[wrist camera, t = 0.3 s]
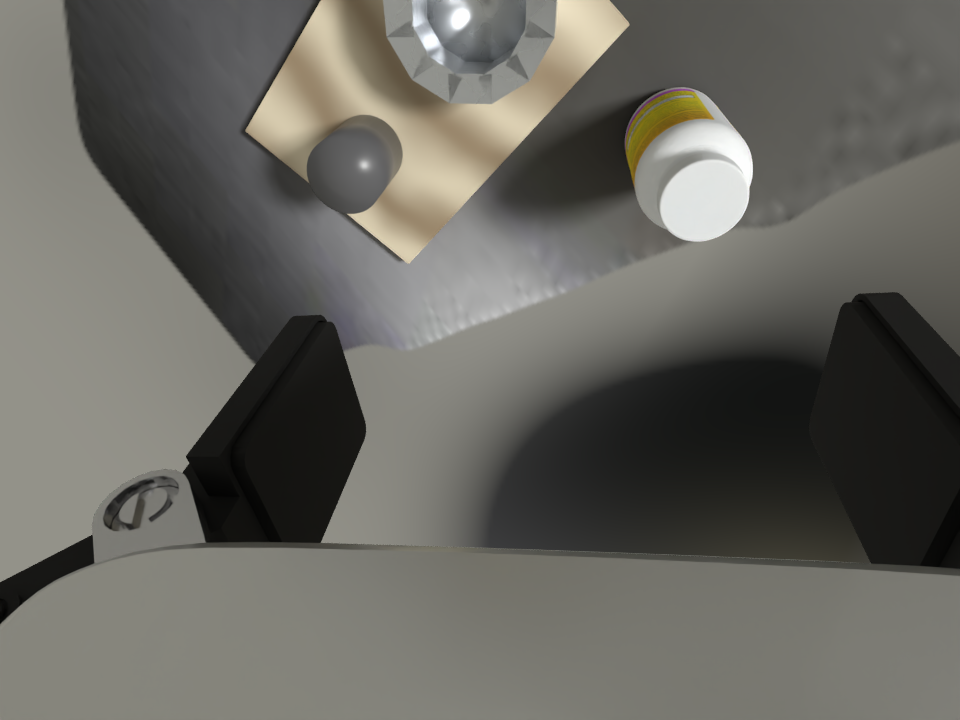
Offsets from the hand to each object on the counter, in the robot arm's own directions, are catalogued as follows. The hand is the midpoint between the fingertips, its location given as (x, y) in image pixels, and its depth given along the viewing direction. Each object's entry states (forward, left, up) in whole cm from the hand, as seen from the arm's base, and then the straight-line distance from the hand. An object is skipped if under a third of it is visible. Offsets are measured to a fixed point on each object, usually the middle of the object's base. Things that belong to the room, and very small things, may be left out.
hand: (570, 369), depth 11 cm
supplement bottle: (+5, +7, -36) cm, 37 cm away
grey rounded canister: (+6, -15, -34) cm, 38 cm away
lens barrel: (-3, -6, -34) cm, 35 cm away
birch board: (+2, -11, -35) cm, 37 cm away
